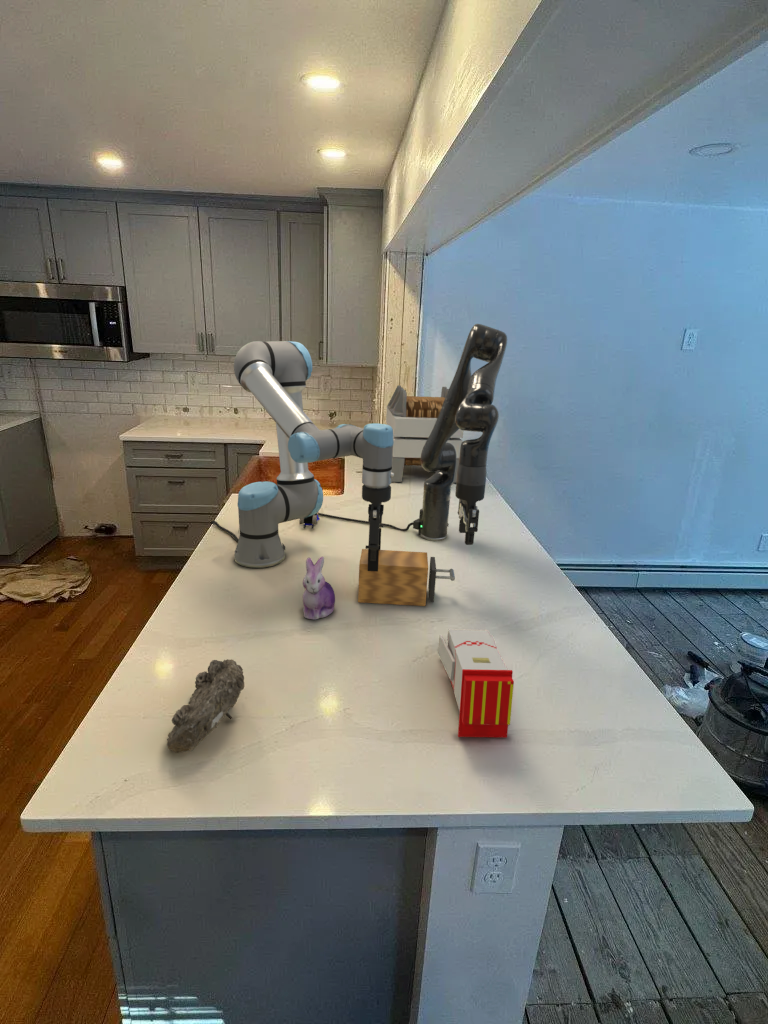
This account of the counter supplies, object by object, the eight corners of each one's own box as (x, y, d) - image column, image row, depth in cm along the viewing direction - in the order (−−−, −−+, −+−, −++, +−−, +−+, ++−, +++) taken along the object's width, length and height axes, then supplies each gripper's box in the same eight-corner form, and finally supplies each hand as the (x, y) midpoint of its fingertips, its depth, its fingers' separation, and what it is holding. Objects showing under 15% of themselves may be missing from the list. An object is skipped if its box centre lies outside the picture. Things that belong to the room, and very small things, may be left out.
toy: (488, 613, 130) (523, 677, 101) (484, 667, 133) (517, 744, 104) (435, 612, 130) (455, 676, 101) (432, 666, 133) (451, 743, 103)
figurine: (308, 624, 140) (307, 569, 135) (294, 605, 149) (293, 553, 144) (343, 617, 145) (344, 563, 139) (327, 599, 153) (328, 548, 148)
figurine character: (317, 534, 199) (321, 515, 212) (317, 515, 196) (321, 497, 209) (298, 534, 199) (303, 515, 212) (298, 515, 195) (302, 496, 209)
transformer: (382, 463, 289) (386, 382, 275) (445, 464, 293) (451, 384, 279) (390, 482, 257) (394, 392, 243) (460, 483, 261) (468, 394, 247)
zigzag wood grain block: (424, 589, 161) (427, 552, 157) (425, 606, 152) (428, 567, 148) (360, 585, 162) (362, 548, 158) (358, 602, 152) (359, 563, 149)
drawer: (451, 588, 160) (453, 557, 157) (453, 603, 152) (456, 571, 149) (372, 584, 161) (374, 553, 158) (371, 598, 153) (372, 566, 149)
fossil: (192, 660, 117) (244, 628, 112) (224, 691, 120) (276, 661, 115) (142, 746, 98) (202, 712, 93) (182, 779, 101) (242, 748, 96)
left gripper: (389, 500, 134) (386, 581, 141) (392, 472, 158) (389, 543, 165) (358, 498, 135) (356, 579, 142) (365, 471, 158) (363, 541, 165)
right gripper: (491, 488, 141) (485, 548, 146) (479, 473, 154) (473, 529, 160) (462, 488, 141) (456, 548, 146) (452, 472, 154) (447, 528, 159)
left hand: (374, 560), depth 153 cm, fingers open, 13 cm apart
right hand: (465, 538), depth 153 cm, fingers open, 8 cm apart
